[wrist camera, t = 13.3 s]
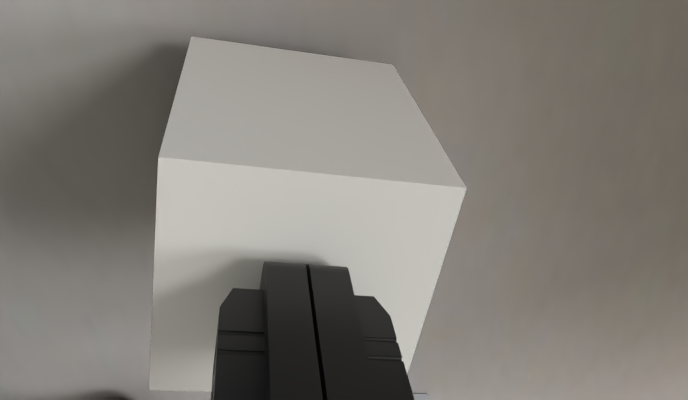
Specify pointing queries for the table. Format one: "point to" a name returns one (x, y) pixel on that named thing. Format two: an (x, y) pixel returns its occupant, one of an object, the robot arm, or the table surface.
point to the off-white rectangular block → (291, 193)
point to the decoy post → (420, 396)
